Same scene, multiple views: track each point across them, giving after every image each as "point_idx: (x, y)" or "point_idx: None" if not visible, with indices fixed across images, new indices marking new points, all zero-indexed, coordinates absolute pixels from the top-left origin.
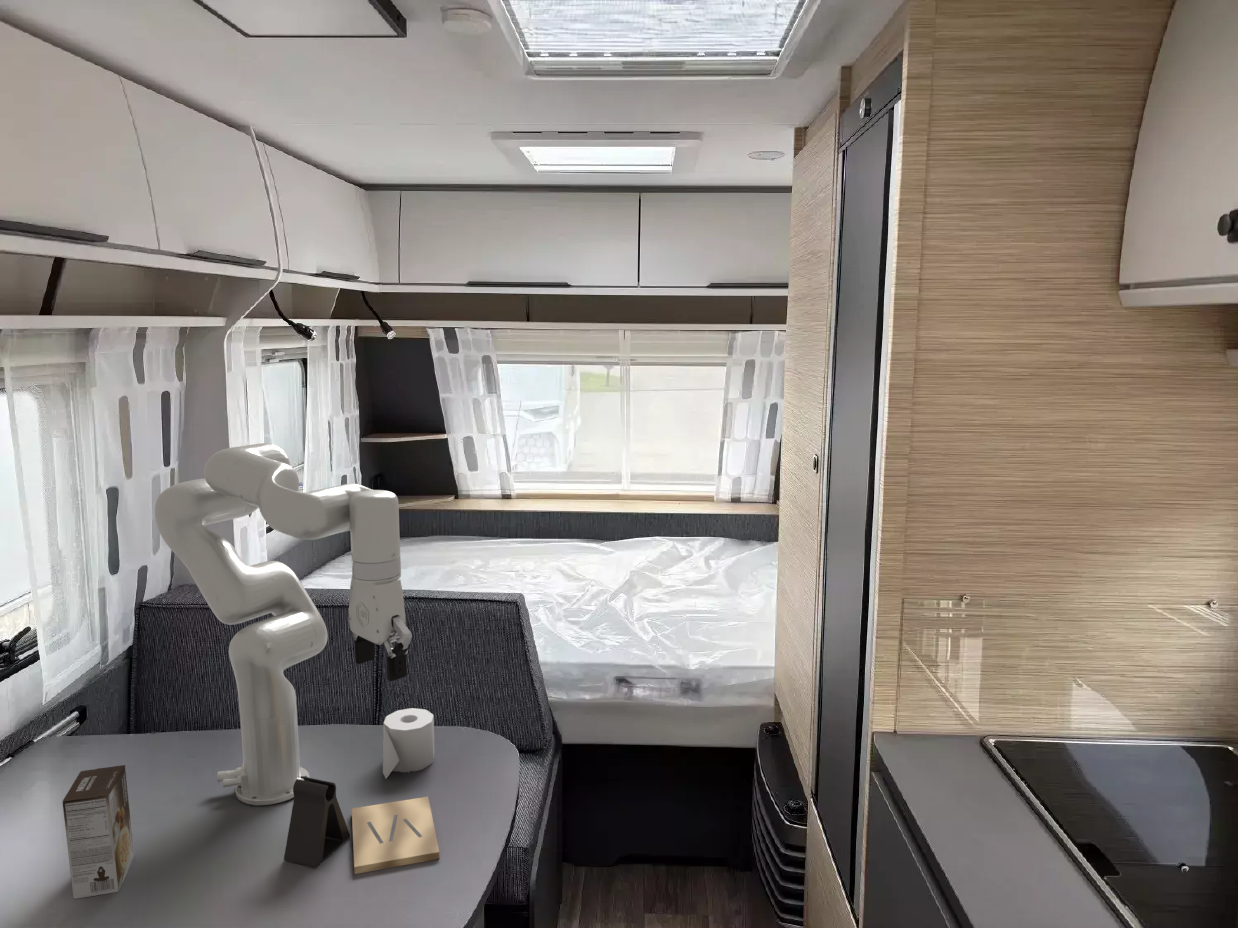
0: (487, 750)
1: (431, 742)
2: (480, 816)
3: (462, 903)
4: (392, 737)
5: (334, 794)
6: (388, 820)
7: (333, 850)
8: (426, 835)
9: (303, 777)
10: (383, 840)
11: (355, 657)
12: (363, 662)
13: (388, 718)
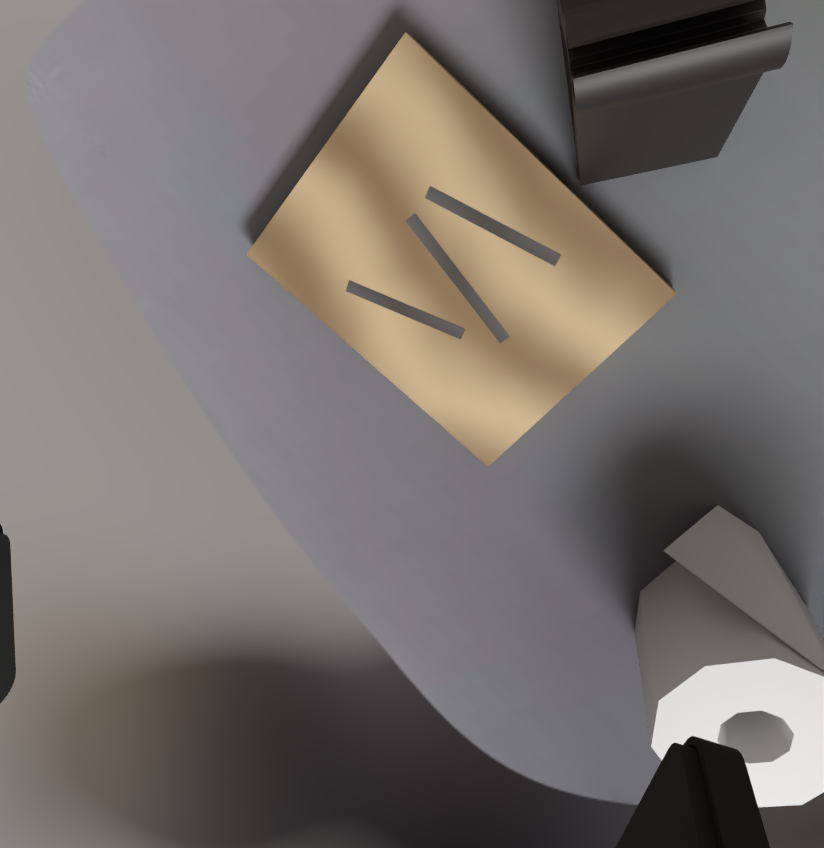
0: (527, 733)
1: (642, 680)
2: (310, 466)
3: (59, 123)
4: (758, 632)
5: (574, 101)
6: (503, 302)
7: (568, 84)
8: (338, 299)
9: (769, 29)
10: (434, 206)
11: (749, 813)
12: (651, 783)
13: None
